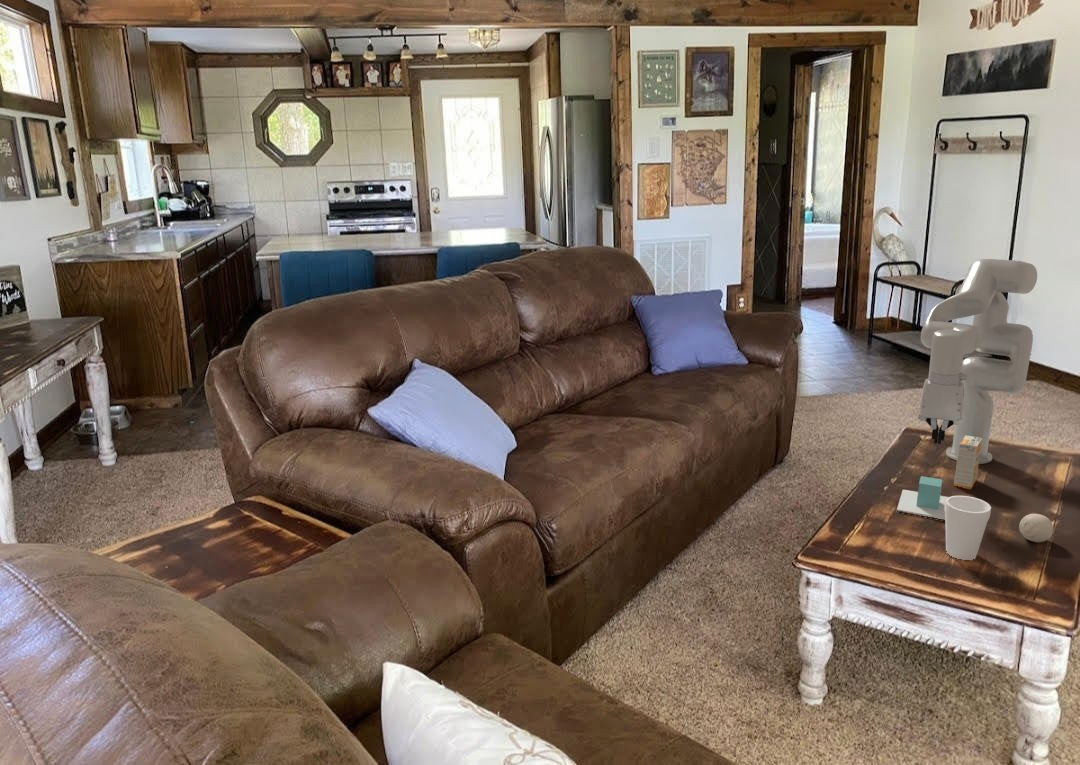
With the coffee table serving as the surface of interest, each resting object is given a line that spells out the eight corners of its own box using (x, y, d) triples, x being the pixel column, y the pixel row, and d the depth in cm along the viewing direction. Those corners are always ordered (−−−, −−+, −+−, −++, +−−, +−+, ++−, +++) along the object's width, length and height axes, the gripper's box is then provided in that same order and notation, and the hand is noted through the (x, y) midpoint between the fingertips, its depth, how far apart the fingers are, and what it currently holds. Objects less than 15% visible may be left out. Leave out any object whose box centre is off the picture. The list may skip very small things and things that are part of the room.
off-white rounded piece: (1010, 537, 194) (1013, 512, 192) (1031, 531, 197) (1035, 507, 195) (1035, 549, 188) (1039, 524, 186) (1057, 543, 190) (1061, 518, 189)
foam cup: (944, 540, 193) (951, 492, 190) (987, 551, 188) (994, 501, 184) (934, 556, 186) (941, 506, 183) (978, 568, 181) (986, 516, 177)
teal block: (918, 498, 214) (921, 476, 213) (939, 502, 212) (942, 479, 210) (916, 505, 210) (919, 483, 208) (938, 509, 208) (940, 486, 206)
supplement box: (972, 490, 220) (978, 446, 217) (953, 486, 223) (958, 443, 219) (977, 480, 227) (983, 437, 223) (958, 476, 229) (964, 434, 226)
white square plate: (902, 492, 220) (904, 470, 219) (958, 501, 214) (961, 479, 212) (896, 512, 209) (899, 489, 207) (955, 522, 202) (958, 499, 200)
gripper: (977, 375, 204) (969, 440, 210) (914, 370, 211) (908, 433, 217) (976, 384, 198) (968, 451, 204) (911, 378, 205) (905, 443, 211)
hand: (937, 441), depth 211 cm, fingers closed
